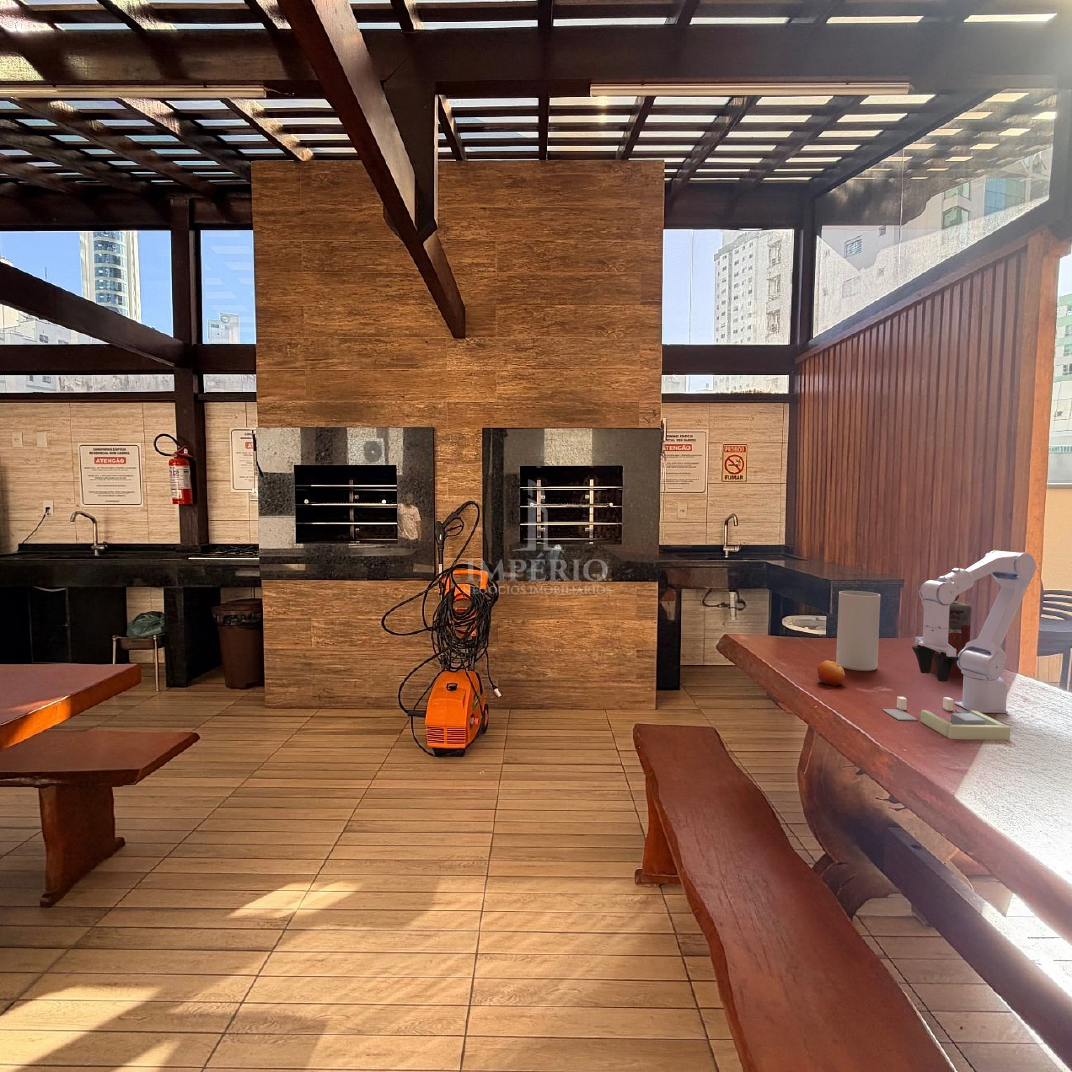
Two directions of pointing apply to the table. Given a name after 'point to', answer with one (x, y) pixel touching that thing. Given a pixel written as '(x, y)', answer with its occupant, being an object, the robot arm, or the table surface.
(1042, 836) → the table surface
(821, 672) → the fruit
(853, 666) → the cylinder vase
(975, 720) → the block
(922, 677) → the table surface
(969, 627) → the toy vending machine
